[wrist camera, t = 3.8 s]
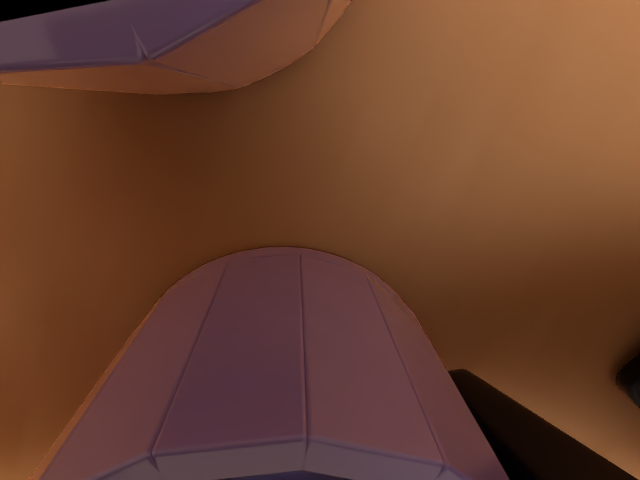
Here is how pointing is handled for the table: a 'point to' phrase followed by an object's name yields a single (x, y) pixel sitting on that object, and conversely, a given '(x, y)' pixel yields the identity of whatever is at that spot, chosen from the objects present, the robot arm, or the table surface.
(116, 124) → the table surface
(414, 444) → the dish
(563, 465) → the robot arm
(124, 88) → the dish
